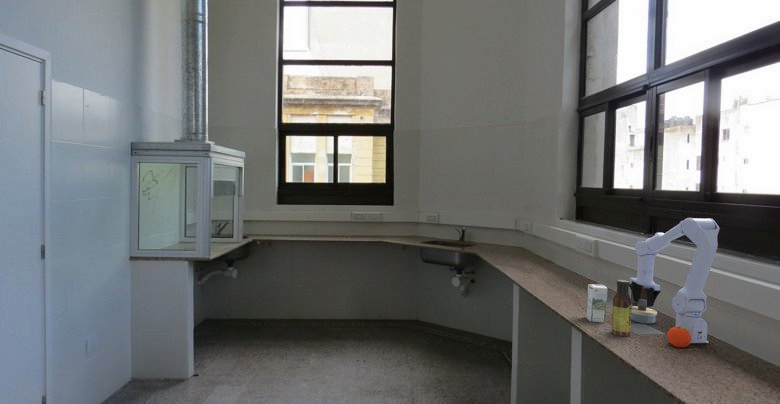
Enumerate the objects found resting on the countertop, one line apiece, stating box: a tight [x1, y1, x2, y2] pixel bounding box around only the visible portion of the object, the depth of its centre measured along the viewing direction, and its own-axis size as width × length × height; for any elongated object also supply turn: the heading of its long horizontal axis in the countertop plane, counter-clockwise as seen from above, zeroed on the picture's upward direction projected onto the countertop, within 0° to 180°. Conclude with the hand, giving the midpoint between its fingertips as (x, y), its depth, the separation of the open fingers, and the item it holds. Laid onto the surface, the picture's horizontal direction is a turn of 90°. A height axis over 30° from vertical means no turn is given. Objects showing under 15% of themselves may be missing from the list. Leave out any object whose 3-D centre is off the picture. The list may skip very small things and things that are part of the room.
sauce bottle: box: [611, 279, 632, 338], centre depth 162 cm, size 6×6×20 cm
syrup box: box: [585, 283, 609, 323], centre depth 178 cm, size 6×6×14 cm
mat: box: [630, 323, 666, 336], centre depth 169 cm, size 12×12×1 cm
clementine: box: [666, 326, 695, 348], centre depth 151 cm, size 8×7×7 cm
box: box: [630, 286, 650, 308], centre depth 196 cm, size 6×4×12 cm
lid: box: [632, 299, 658, 317], centre depth 181 cm, size 11×11×5 cm
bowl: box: [631, 313, 657, 324], centre depth 181 cm, size 9×9×4 cm
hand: (643, 303), depth 181 cm, fingers open, 7 cm apart
